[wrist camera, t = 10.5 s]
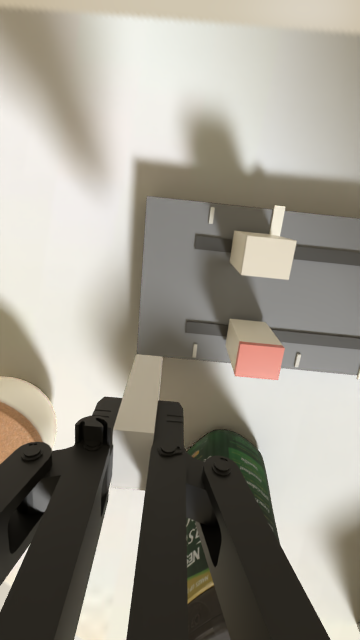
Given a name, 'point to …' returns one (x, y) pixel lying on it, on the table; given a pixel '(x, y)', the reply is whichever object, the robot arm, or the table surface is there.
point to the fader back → (254, 349)
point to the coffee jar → (203, 604)
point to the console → (249, 285)
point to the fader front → (262, 255)
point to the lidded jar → (24, 416)
